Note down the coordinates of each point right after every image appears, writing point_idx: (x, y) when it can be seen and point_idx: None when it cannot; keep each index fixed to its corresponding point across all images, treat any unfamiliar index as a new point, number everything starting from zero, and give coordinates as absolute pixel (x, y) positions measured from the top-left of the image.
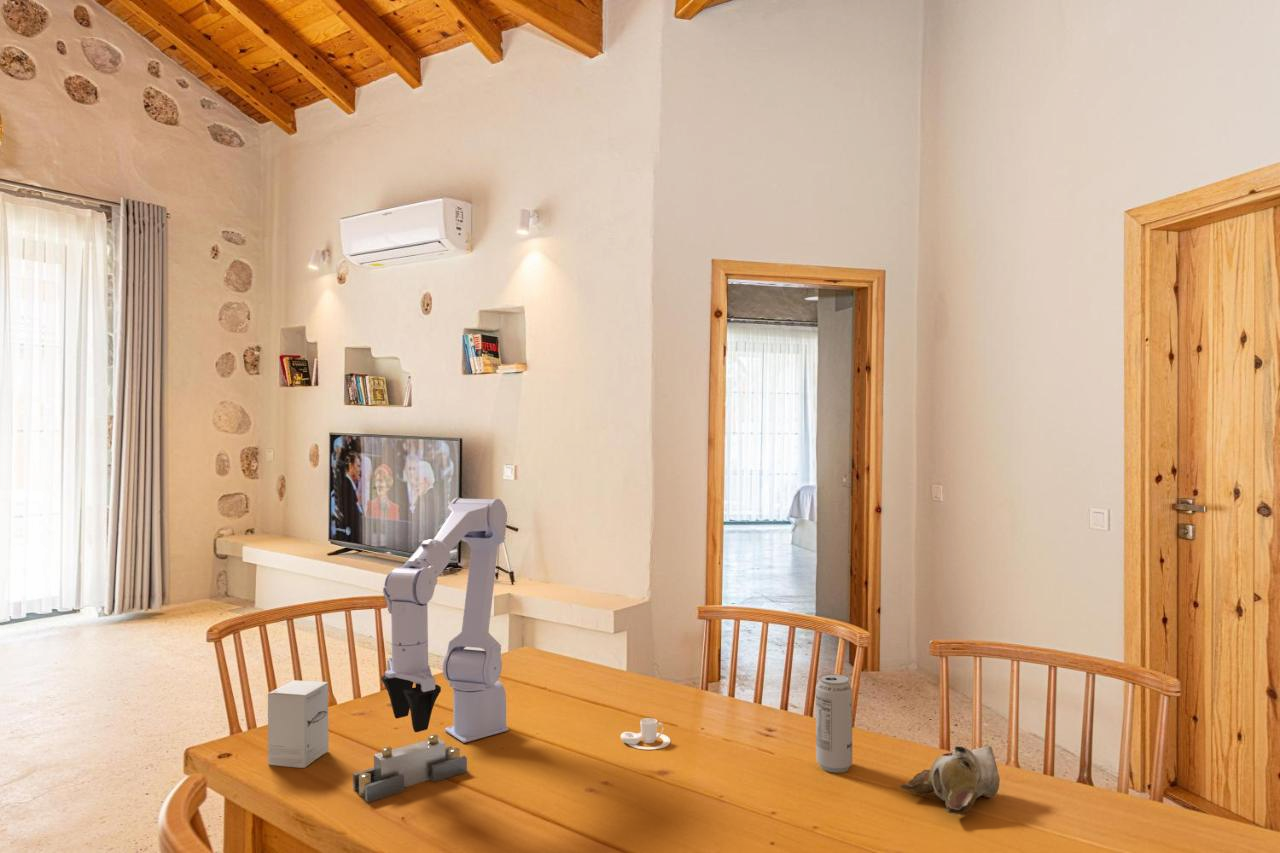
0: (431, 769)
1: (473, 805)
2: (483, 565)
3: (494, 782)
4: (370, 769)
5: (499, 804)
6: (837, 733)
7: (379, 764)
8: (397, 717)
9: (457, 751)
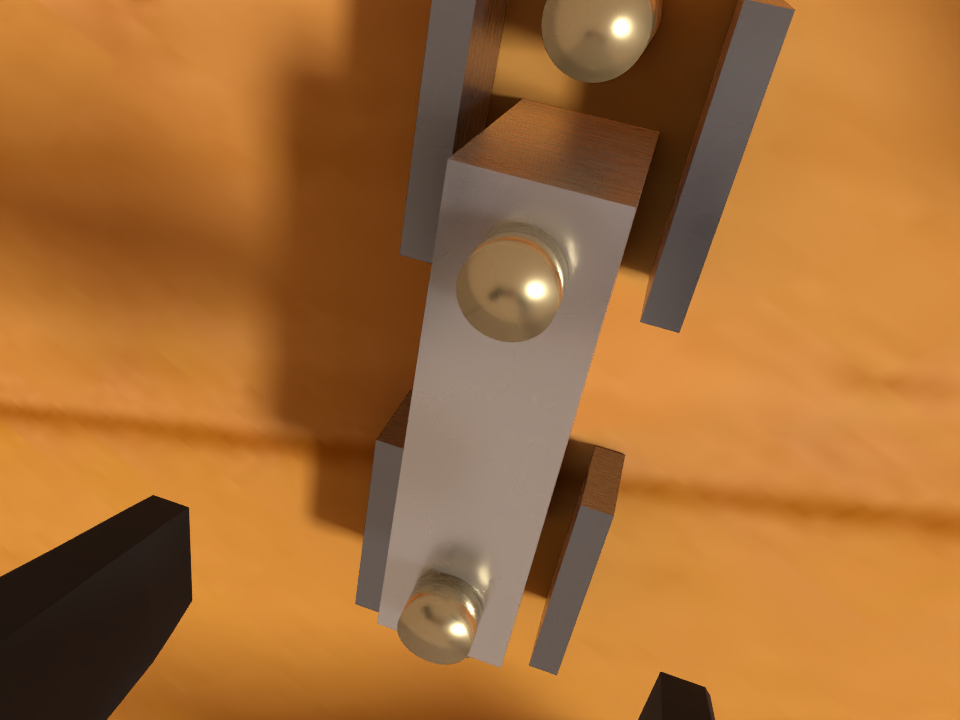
0: None
1: (60, 318)
2: None
3: (208, 521)
4: (720, 172)
5: (12, 384)
6: None
7: (503, 157)
8: (653, 688)
9: None
